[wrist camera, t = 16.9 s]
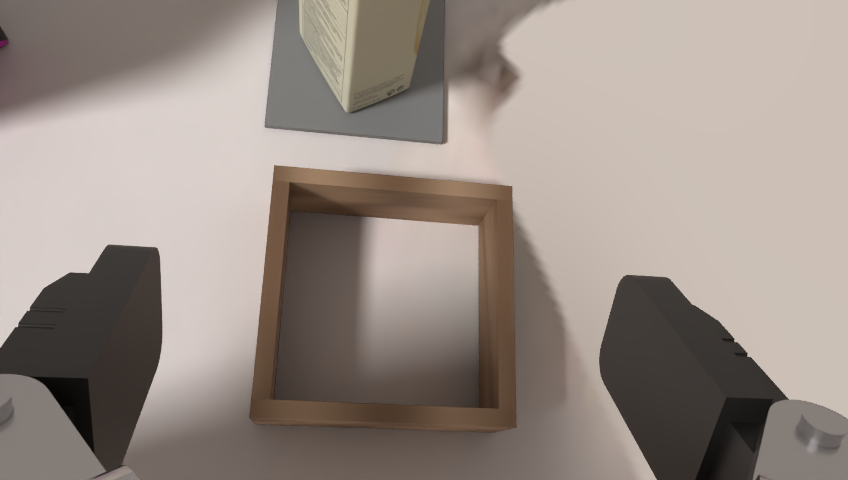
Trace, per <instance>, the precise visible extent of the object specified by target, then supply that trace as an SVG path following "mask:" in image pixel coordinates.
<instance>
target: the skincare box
mask: <svg viewBox="0 0 848 480" xmlns="http://www.w3.org/2000/svg"><path fill="white" fill-rule="evenodd" d="M429 3H430V0H299V23H300V34H301V37H302V38H303V40H304V42H305V44H306V46H307V48H308V50H309V51H310V53H311V55H312V57H313V59H314V60H315V62H316V64H317V66H318V67H319V69H320V71H321V73H322V74H323V76H324V78H325V79H326V81H327V83H328V84H329V86H330V88H331V89H332V91H333V93H334V94H335V96H336V98H337V99H338V101H339V102H340V104H341V105H342V107H343V109H344V110H345V112H346V113H350V112H353V111H355V110H358V109H360V108H363V107H366V106H368V105H371V104H374V103H376V102H378V101H381V100H383V99H386V98H388V97H390V96H393V95H395V94H397V93H399V92H401V91H404V90H406V89H408V88H409V86H410V82H411V78H412V74H413V70H414V66H415V62H416V57H417V53H418V49H419V44H420V40H421V36H422V32H423V28H424V24H425V19H426V15H427V11H428V6H429Z"/></svg>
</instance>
